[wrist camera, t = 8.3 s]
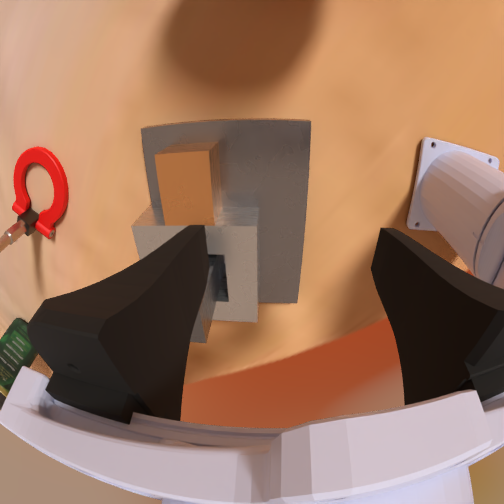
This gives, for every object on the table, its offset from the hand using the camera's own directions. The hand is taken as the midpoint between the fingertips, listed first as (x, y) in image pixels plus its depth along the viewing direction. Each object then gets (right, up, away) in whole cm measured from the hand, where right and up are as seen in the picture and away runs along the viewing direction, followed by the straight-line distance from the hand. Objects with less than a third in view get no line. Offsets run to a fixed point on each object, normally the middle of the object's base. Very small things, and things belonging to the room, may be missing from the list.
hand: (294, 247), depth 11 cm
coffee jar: (-45, -16, +27) cm, 55 cm away
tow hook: (-24, +7, +11) cm, 27 cm away
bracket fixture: (-4, +2, +11) cm, 12 cm away
